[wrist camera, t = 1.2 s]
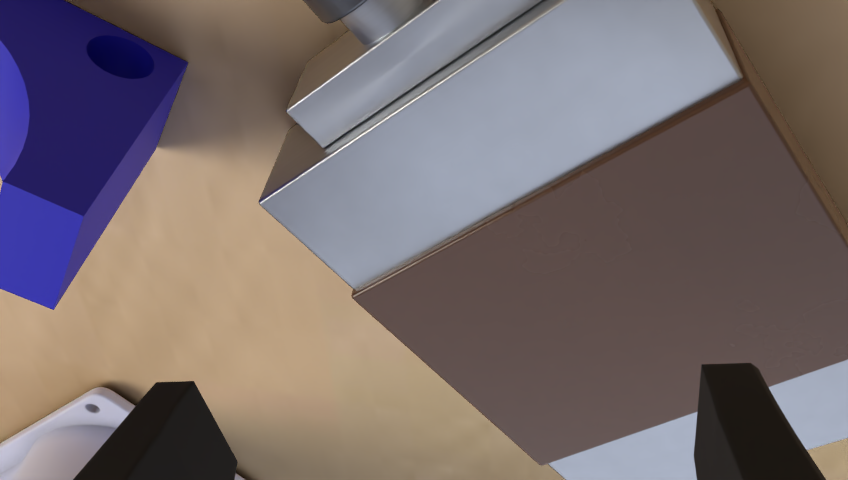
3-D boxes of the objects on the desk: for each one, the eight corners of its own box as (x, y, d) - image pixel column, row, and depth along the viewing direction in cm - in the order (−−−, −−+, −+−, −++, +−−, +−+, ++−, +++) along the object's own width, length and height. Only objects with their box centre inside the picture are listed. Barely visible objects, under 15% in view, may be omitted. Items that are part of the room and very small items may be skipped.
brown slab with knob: (592, 431, 27) (599, 519, 25) (190, 38, 19) (139, 110, 16) (904, 320, 22) (951, 415, 20) (551, -274, 14) (557, -240, 11)
